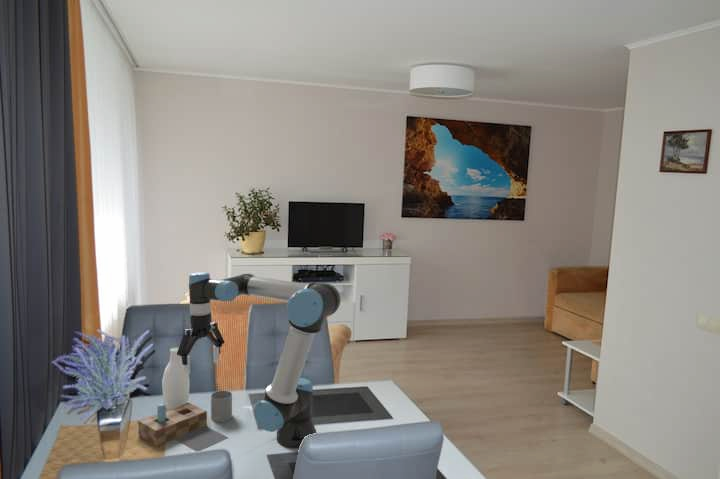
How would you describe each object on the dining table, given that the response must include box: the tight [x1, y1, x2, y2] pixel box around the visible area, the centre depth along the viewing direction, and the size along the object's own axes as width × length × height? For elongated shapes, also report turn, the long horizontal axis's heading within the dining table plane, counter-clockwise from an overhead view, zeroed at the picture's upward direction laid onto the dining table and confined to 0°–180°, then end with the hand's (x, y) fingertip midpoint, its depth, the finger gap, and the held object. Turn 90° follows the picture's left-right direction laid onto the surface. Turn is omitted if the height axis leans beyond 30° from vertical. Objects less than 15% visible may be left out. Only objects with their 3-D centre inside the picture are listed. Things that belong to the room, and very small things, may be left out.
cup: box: [210, 390, 233, 423], centre depth 220 cm, size 8×8×10 cm
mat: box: [174, 426, 229, 452], centre depth 203 cm, size 14×14×1 cm
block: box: [137, 402, 208, 446], centre depth 209 cm, size 12×22×6 cm, turn 142°
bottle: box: [161, 347, 191, 411], centre depth 229 cm, size 11×11×25 cm
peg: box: [156, 402, 167, 424], centre depth 204 cm, size 3×3×12 cm
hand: (202, 367), depth 206 cm, fingers open, 13 cm apart
